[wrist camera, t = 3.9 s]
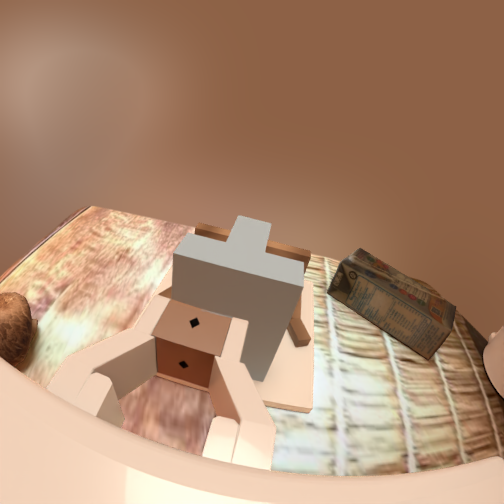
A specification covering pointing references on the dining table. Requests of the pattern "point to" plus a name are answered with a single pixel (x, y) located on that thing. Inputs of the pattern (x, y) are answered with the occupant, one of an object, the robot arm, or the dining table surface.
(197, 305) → the tee block
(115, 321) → the dining table surface
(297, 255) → the dock fence
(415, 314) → the beverage carton
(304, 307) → the board
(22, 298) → the mushroom
